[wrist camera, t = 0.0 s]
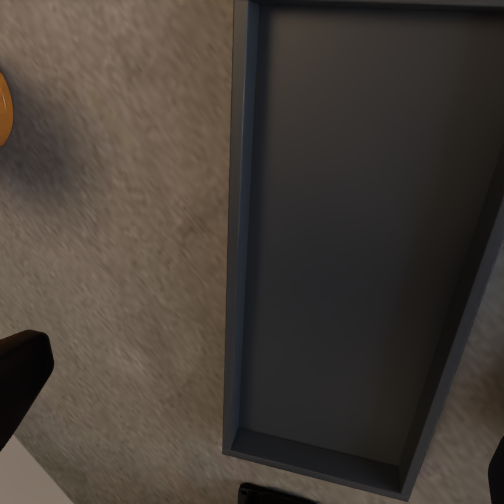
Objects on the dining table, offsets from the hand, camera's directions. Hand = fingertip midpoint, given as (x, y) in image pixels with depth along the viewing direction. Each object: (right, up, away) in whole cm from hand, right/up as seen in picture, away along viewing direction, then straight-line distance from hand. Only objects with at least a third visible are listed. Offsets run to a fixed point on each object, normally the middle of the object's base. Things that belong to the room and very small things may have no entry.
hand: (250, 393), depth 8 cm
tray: (+5, +1, +15) cm, 16 cm away
